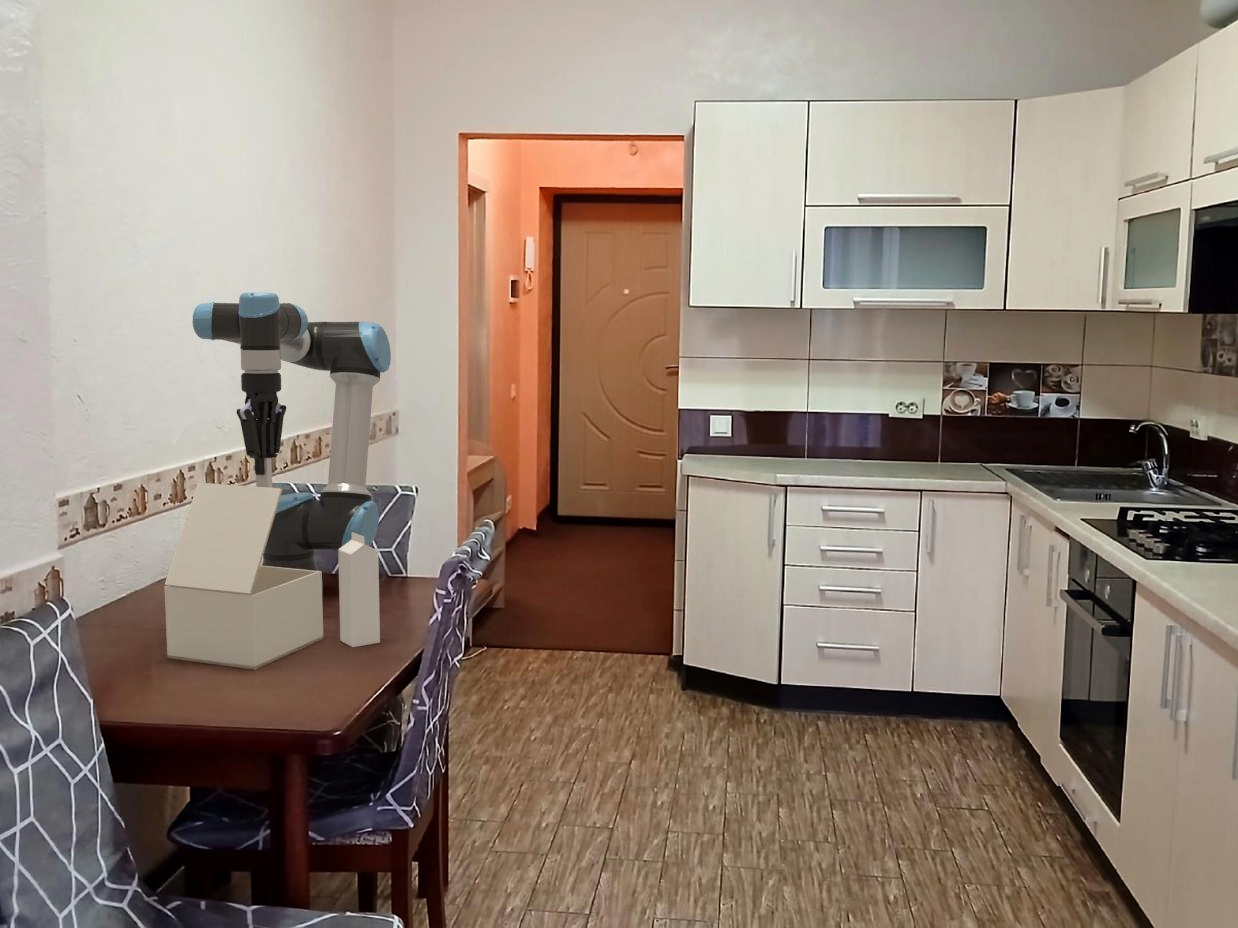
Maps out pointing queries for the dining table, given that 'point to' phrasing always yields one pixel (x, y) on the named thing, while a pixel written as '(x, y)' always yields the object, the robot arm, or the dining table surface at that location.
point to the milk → (359, 593)
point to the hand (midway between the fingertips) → (264, 490)
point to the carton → (246, 619)
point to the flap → (224, 537)
